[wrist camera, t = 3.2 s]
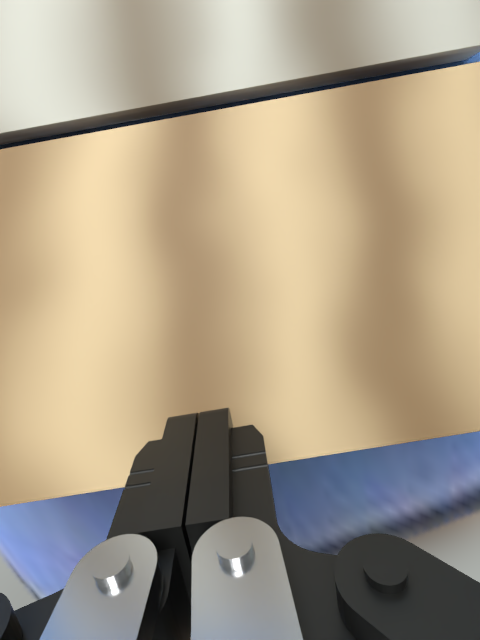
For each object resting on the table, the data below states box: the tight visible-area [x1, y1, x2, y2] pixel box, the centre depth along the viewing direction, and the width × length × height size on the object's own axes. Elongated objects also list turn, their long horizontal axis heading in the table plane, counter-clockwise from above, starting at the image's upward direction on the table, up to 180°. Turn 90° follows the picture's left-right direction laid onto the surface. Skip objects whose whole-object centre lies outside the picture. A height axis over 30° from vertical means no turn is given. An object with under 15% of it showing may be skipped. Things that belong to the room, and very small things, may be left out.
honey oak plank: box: [0, 62, 480, 507], centre depth 14 cm, size 22×12×2 cm, turn 100°
